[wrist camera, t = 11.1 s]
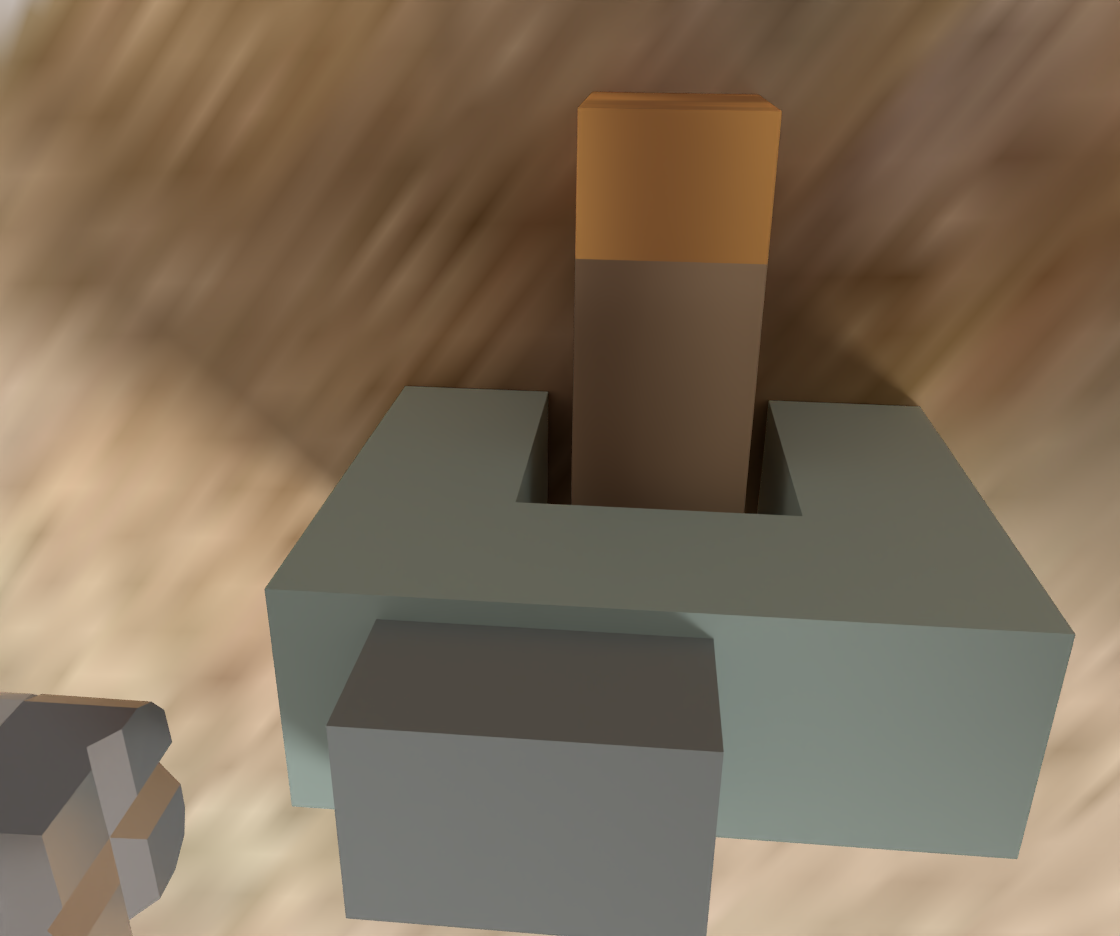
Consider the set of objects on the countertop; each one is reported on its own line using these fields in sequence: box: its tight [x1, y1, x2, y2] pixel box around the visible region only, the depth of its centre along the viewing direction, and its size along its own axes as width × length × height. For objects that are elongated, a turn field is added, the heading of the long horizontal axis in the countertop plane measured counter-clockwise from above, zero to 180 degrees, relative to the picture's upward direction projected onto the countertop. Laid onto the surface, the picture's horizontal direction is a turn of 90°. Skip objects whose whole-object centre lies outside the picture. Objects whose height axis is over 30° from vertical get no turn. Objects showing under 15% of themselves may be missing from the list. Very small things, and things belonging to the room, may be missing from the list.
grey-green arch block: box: [265, 386, 1075, 936], centre depth 22 cm, size 14×5×14 cm, turn 90°
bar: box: [571, 92, 782, 513], centre depth 26 cm, size 4×20×5 cm, turn 179°
